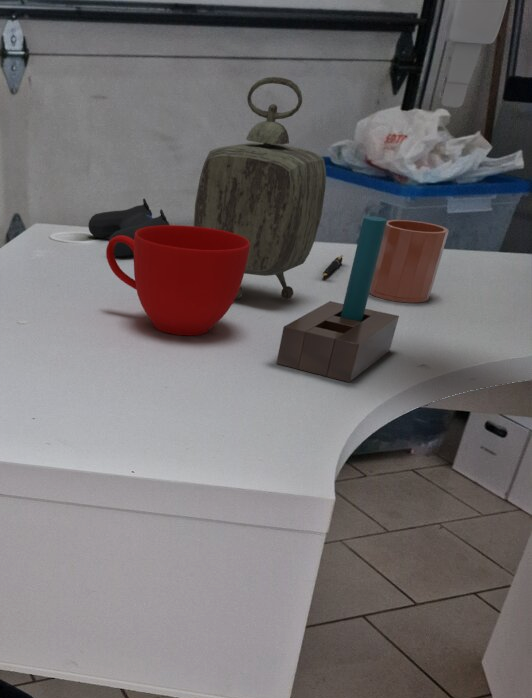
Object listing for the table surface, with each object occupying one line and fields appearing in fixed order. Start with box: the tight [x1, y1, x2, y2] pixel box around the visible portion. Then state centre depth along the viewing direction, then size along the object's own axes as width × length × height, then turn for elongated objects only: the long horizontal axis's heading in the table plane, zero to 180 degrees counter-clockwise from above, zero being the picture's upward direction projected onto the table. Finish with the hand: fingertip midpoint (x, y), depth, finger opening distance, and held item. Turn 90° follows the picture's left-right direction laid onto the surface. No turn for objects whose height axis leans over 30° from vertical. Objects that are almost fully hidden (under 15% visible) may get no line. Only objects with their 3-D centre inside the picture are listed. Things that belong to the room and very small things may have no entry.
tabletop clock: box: [193, 76, 327, 300], centre depth 105 cm, size 14×9×25 cm, turn 56°
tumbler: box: [369, 219, 450, 304], centre depth 115 cm, size 8×8×9 cm
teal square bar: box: [341, 215, 388, 322], centre depth 90 cm, size 2×2×14 cm
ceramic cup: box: [105, 224, 250, 336], centre depth 96 cm, size 13×17×10 cm
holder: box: [276, 300, 400, 383], centre depth 91 cm, size 8×14×4 cm, turn 146°
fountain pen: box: [322, 254, 344, 278], centre depth 126 cm, size 14×1×2 cm, turn 155°
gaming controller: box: [87, 198, 170, 258], centre depth 131 cm, size 17×6×10 cm
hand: (449, 104), depth 76 cm, fingers open, 8 cm apart
